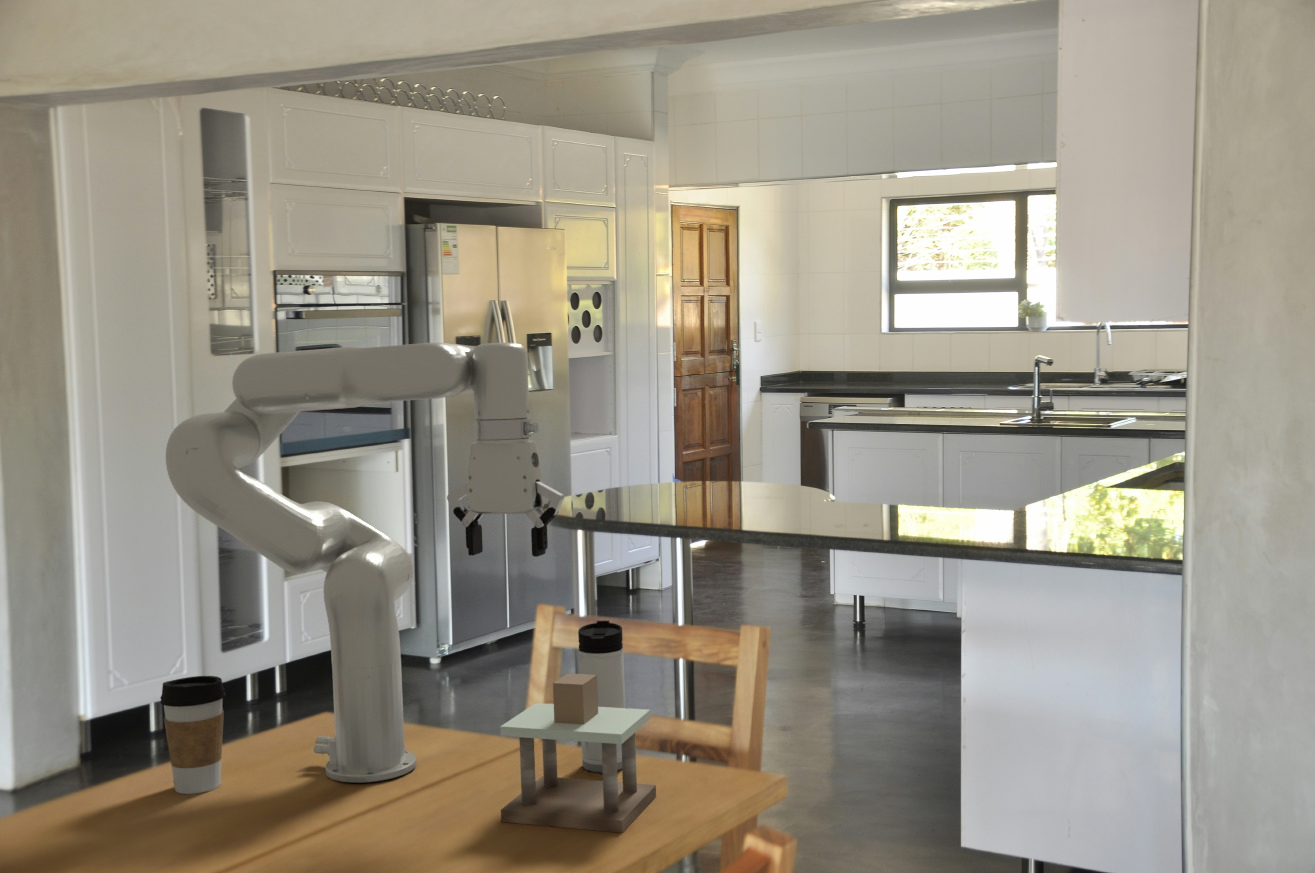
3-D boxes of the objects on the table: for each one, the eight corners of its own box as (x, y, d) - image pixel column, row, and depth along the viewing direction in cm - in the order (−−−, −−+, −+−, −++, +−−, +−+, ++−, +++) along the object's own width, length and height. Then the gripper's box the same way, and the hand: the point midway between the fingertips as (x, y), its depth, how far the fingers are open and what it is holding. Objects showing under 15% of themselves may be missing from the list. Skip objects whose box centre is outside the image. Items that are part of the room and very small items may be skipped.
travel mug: (629, 757, 178) (625, 619, 177) (624, 773, 172) (619, 629, 171) (586, 757, 179) (581, 620, 178) (579, 772, 173) (574, 629, 171)
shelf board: (500, 735, 155) (498, 686, 155) (536, 711, 166) (534, 665, 165) (621, 743, 150) (620, 693, 150) (650, 718, 161) (648, 671, 160)
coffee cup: (151, 793, 169) (145, 684, 169) (195, 774, 177) (190, 670, 176) (199, 799, 166) (194, 688, 165) (243, 779, 174) (237, 673, 173)
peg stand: (501, 821, 155) (497, 738, 154) (542, 787, 167) (539, 709, 167) (622, 832, 150) (619, 746, 149) (656, 796, 162) (653, 716, 162)
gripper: (570, 429, 174) (574, 551, 175) (458, 431, 179) (463, 549, 180) (549, 432, 167) (554, 559, 168) (433, 434, 172) (438, 557, 173)
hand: (507, 554), depth 174 cm, fingers open, 9 cm apart
